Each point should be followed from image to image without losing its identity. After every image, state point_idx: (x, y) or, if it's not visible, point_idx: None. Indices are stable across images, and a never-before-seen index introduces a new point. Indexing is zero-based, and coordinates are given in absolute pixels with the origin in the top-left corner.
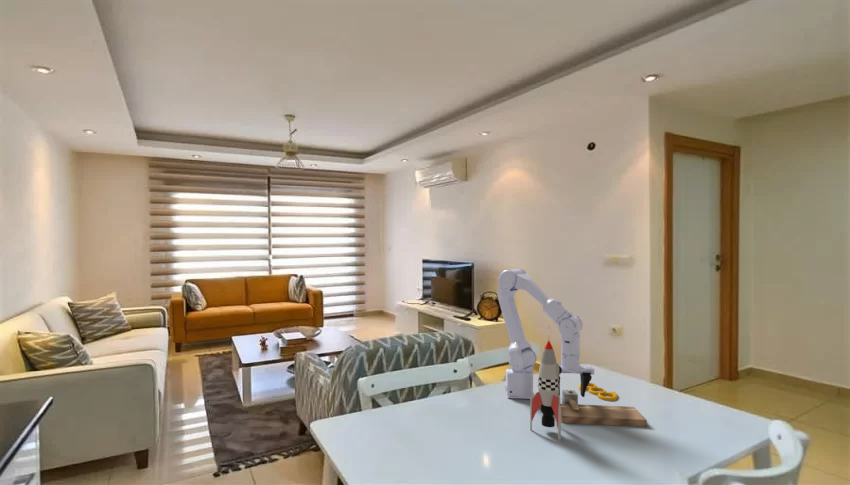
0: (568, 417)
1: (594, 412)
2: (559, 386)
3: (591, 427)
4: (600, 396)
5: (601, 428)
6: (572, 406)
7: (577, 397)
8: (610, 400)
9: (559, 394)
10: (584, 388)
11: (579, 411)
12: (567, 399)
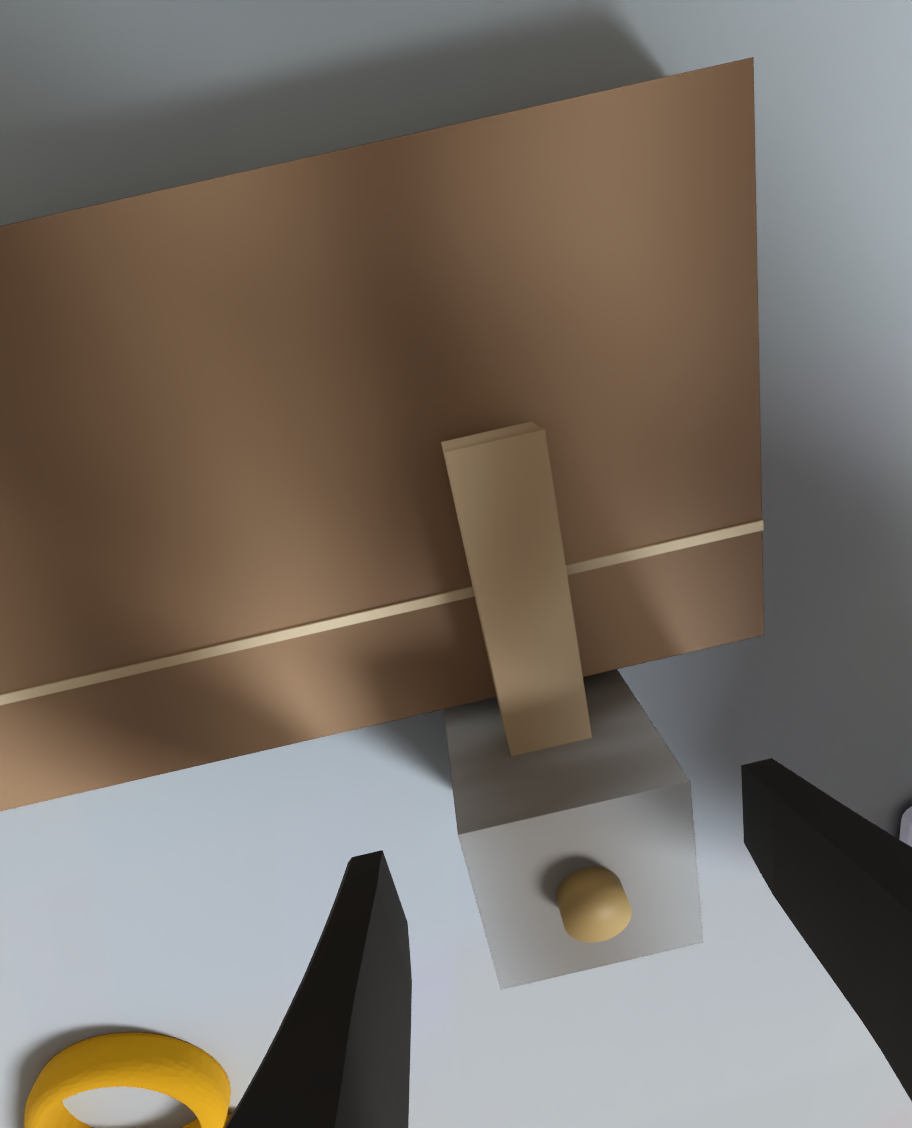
0: (626, 95)
1: (175, 458)
2: (889, 891)
3: (227, 43)
4: (190, 1080)
5: (59, 52)
6: (548, 485)
7: (460, 795)
8: (86, 1044)
9: (766, 777)
10: (328, 998)
11: (426, 417)
12: (612, 729)
